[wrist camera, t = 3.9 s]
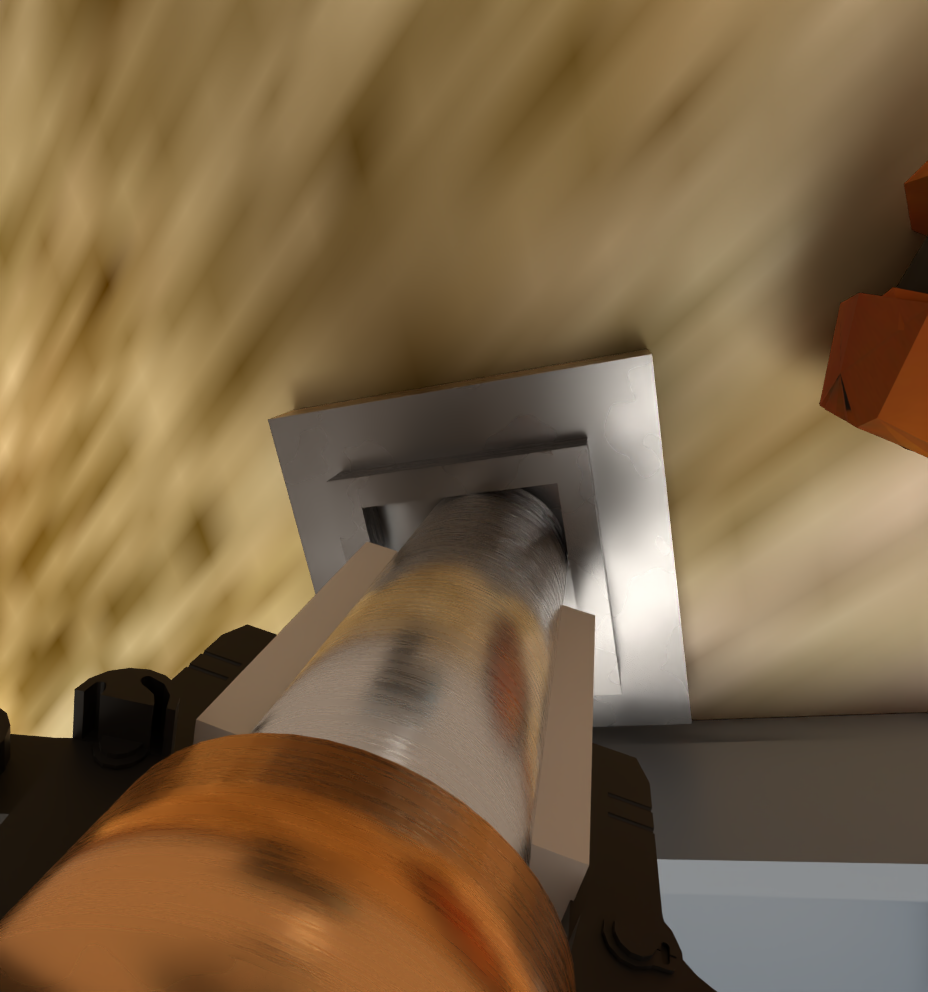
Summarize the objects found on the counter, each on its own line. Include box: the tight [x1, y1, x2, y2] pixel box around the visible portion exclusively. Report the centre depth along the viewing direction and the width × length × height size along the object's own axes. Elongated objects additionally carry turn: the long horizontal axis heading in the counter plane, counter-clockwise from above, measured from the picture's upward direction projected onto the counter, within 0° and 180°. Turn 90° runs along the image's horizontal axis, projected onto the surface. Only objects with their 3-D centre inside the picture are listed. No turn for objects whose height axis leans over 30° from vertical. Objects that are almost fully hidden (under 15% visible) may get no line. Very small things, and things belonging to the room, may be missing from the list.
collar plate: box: [268, 349, 692, 727], centre depth 17 cm, size 10×10×2 cm
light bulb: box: [0, 488, 576, 992], centre depth 11 cm, size 5×5×13 cm
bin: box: [592, 713, 928, 992], centre depth 18 cm, size 13×13×5 cm
